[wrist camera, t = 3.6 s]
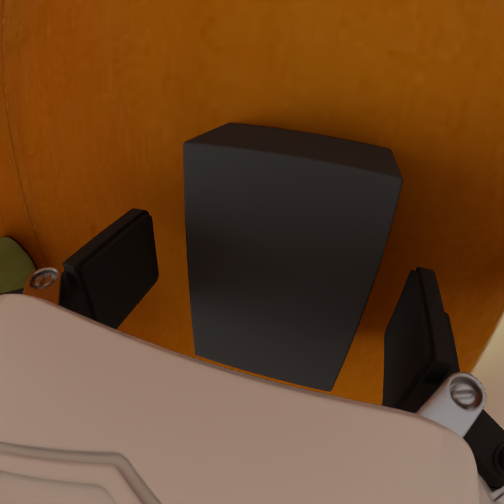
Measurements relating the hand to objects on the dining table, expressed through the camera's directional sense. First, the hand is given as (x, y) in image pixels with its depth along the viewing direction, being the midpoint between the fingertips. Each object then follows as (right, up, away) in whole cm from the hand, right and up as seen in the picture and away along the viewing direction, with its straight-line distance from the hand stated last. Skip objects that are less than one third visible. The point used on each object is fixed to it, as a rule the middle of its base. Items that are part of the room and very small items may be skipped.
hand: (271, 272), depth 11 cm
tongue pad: (+1, 0, +3) cm, 3 cm away
